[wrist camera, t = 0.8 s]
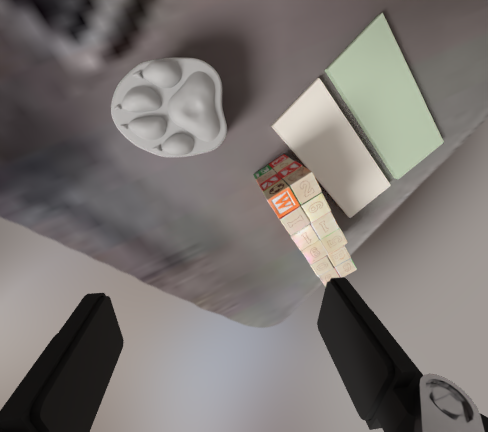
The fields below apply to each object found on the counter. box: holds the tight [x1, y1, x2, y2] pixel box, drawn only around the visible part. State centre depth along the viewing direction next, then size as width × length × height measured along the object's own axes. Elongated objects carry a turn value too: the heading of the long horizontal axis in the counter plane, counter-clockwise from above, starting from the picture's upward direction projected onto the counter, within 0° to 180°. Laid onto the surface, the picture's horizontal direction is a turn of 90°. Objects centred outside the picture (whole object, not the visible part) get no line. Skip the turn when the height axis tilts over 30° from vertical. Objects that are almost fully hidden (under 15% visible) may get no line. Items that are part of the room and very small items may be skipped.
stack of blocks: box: [254, 154, 357, 287], centre depth 36 cm, size 21×6×12 cm, turn 33°
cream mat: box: [271, 78, 391, 218], centre depth 37 cm, size 9×23×1 cm, turn 45°
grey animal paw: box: [111, 57, 227, 157], centre depth 28 cm, size 10×13×9 cm
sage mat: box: [325, 13, 444, 179], centre depth 34 cm, size 9×23×1 cm, turn 45°
